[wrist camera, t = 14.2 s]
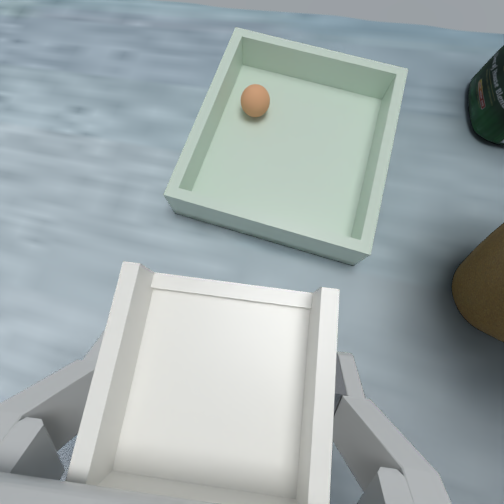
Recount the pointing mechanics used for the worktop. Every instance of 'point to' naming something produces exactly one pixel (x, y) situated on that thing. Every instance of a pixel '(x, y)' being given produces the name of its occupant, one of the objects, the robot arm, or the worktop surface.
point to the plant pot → (483, 286)
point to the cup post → (212, 392)
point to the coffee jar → (488, 100)
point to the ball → (255, 100)
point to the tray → (292, 147)
